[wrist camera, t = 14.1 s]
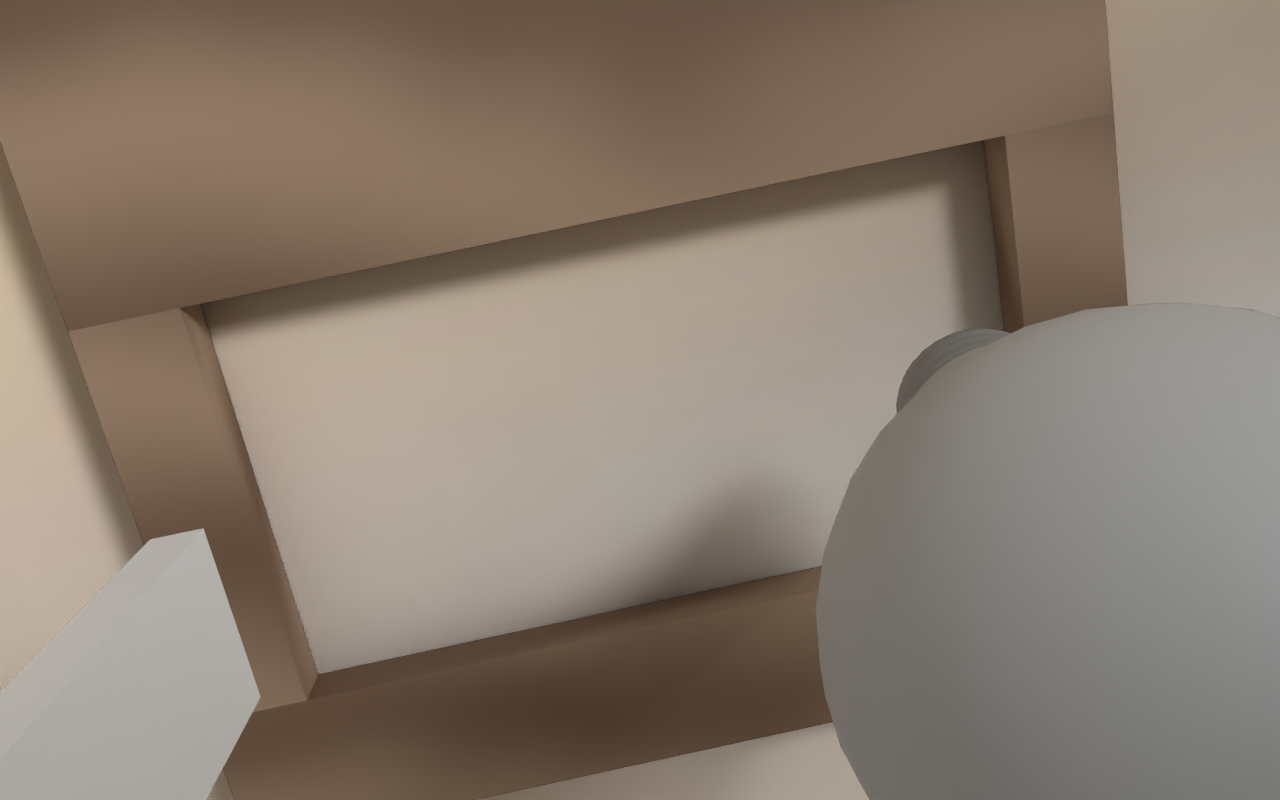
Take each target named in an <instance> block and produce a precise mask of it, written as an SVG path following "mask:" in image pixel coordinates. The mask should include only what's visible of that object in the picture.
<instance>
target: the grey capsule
mask: <svg viewBox="0 0 1280 800" xmlns="http://www.w3.org/2000/svg"><path fill="white" fill-rule="evenodd" d="M896 405H897V415H896V416H895V417H894V418H893V419H892V420H891V421H890V422H889V423H888V424H887V425H886V426H885V428H884V429H883V430H882V431H881V432H880V433H879V435H878V437H877V438H876V440H875V441H874V443H873V445H872V446H871V448H870V449H869V451H868V452H867V454H866V456H865V457H864V459H863V460H862V462H861V464H860V465H859V467H858V468H857V470H856V472H855V473H854V475H853V476H852V478H851V480H850V483H849V485H848V488H847V491H846V493H845V496H844V499H843V501H842V504H841V507H840V509H839V512H838V515H837V517H836V520H835V523H834V525H833V528H832V531H831V534H830V537H829V540H828V543H827V546H826V549H825V552H824V557H823V563H822V570H821V577H820V584H819V591H818V597H817V604H816V618H817V632H818V645H819V659H820V667H821V674H822V680H823V687H824V694H825V697H826V700H827V703H828V707H829V710H830V713H831V716H832V720H833V723H834V726H835V729H836V733H837V736H838V739H839V742H840V746H841V748H842V750H843V752H844V753H845V755H846V757H847V759H848V761H849V763H850V765H851V767H852V769H853V771H854V772H855V774H856V776H857V778H858V780H859V782H860V783H861V785H862V787H863V789H864V790H865V792H866V794H867V796H868V797H869V799H870V800H1280V318H1278V317H1275V316H1272V315H1268V314H1265V313H1262V312H1258V311H1255V310H1252V309H1242V308H1231V307H1221V306H1210V305H1200V304H1189V303H1156V304H1141V305H1130V306H1119V307H1108V308H1097V309H1087V310H1083V311H1079V312H1076V313H1072V314H1068V315H1065V316H1061V317H1058V318H1054V319H1050V320H1047V321H1043V322H1040V323H1036V324H1033V325H1029V326H1025V327H1023V328H1021V329H1019V330H1017V331H1015V332H1013V333H1008V332H1005V331H1001V330H997V329H986V328H979V329H968V330H963V331H960V332H956V333H953V334H950V335H948V336H946V337H944V338H942V339H940V340H938V341H936V342H934V343H933V344H932V345H930V346H929V347H928V348H926V349H925V350H924V351H923V352H922V353H921V354H920V355H919V356H918V357H917V358H916V359H915V360H914V361H913V362H912V364H911V366H910V367H909V369H908V370H907V372H906V374H905V375H904V377H903V380H902V383H901V385H900V388H899V392H898V398H897V404H896Z"/></svg>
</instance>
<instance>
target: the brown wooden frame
mask: <svg viewBox="0 0 1280 800" xmlns="http://www.w3.org/2000/svg"><path fill="white" fill-rule="evenodd" d="M981 140H984V145H985V155H986V164H987V173H988V183H989V192H990V201H991V211H992V220H993V229H994V239H995V248H996V258H997V267H998V276H999V286H1000V295H1001V304H1002V314H1003V323H1004V331H1005V332H1008V333H1013V332H1015V331H1017V330H1019V329H1021V328H1023V327H1025V326H1029V325H1033V324H1036V323H1040V322H1043V321H1047V320H1050V319H1054V318H1058V317H1061V316H1065V315H1068V314H1072V313H1076V312H1079V311H1083V310H1087V309H1097V308H1108V307H1119V306H1128V304H1127V291H1126V277H1125V263H1124V250H1123V236H1122V223H1121V209H1120V195H1119V182H1118V168H1117V155H1116V141H1115V127H1114V114H1113V100H1112V87H1111V73H1110V60H1109V46H1108V32H1107V19H1106V5H1105V0H0V142H1V145H2V148H3V151H4V153H5V156H6V159H7V162H8V165H9V167H10V170H11V173H12V176H13V179H14V181H15V184H16V187H17V190H18V193H19V196H20V198H21V201H22V204H23V207H24V210H25V212H26V215H27V218H28V221H29V224H30V226H31V229H32V232H33V235H34V238H35V241H36V243H37V246H38V249H39V252H40V255H41V257H42V260H43V263H44V266H45V269H46V271H47V274H48V277H49V280H50V283H51V286H52V288H53V291H54V294H55V297H56V300H57V302H58V305H59V308H60V311H61V314H62V316H63V319H64V322H65V325H66V328H67V331H68V333H69V336H70V339H71V342H72V345H73V347H74V350H75V353H76V356H77V359H78V361H79V364H80V367H81V370H82V373H83V376H84V378H85V381H86V384H87V387H88V390H89V392H90V395H91V398H92V401H93V404H94V407H95V409H96V412H97V415H98V418H99V421H100V423H101V426H102V429H103V432H104V435H105V437H106V440H107V443H108V446H109V449H110V452H111V454H112V457H113V460H114V463H115V466H116V468H117V471H118V474H119V477H120V480H121V482H122V485H123V488H124V491H125V494H126V497H127V499H128V502H129V505H130V508H131V511H132V513H133V516H134V519H135V522H136V525H137V527H138V530H139V533H140V536H141V539H142V542H143V544H144V545H145V544H146V543H147V542H148V541H149V540H150V539H155V538H159V537H164V536H169V535H174V534H178V533H183V532H188V531H193V530H197V529H202V528H204V531H205V534H206V537H207V540H208V543H209V546H210V549H211V552H212V555H213V558H214V561H215V564H216V567H217V570H218V573H219V576H220V579H221V582H222V584H223V587H224V590H225V593H226V596H227V599H228V602H229V605H230V608H231V611H232V614H233V617H234V620H235V623H236V626H237V629H238V632H239V635H240V638H241V640H242V643H243V646H244V649H245V652H246V655H247V658H248V661H249V664H250V667H251V670H252V673H253V676H254V679H255V682H256V685H257V688H258V691H259V694H260V699H259V701H258V703H257V705H256V707H255V709H254V710H253V712H252V714H251V716H250V718H249V720H248V722H247V724H246V726H245V727H244V729H243V731H242V733H241V735H240V737H239V739H238V741H237V743H236V745H235V746H234V748H233V750H232V752H231V754H230V756H229V758H228V760H227V762H226V763H225V765H224V767H223V769H224V772H225V775H226V778H227V781H228V783H229V786H230V789H231V792H232V795H233V798H234V800H477V799H481V798H486V797H491V796H495V795H500V794H504V793H509V792H513V791H518V790H523V789H527V788H532V787H536V786H541V785H546V784H550V783H555V782H559V781H564V780H569V779H573V778H578V777H582V776H587V775H591V774H596V773H601V772H605V771H610V770H614V769H619V768H624V767H628V766H633V765H637V764H642V763H647V762H651V761H656V760H660V759H665V758H669V757H674V756H679V755H683V754H688V753H692V752H697V751H702V750H706V749H711V748H715V747H720V746H725V745H729V744H734V743H738V742H743V741H747V740H752V739H757V738H761V737H766V736H770V735H775V734H780V733H784V732H789V731H793V730H798V729H802V728H807V727H812V726H816V725H821V724H825V723H830V722H833V720H832V716H831V713H830V710H829V707H828V703H827V700H826V697H825V694H824V687H823V680H822V674H821V667H820V659H819V645H818V632H817V618H816V604H817V597H818V591H819V584H820V577H821V570H822V566H820V567H816V568H811V569H806V570H802V571H797V572H792V573H788V574H783V575H779V576H774V577H769V578H765V579H760V580H755V581H751V582H746V583H741V584H737V585H732V586H727V587H723V588H718V589H714V590H709V591H704V592H700V593H695V594H690V595H686V596H681V597H676V598H672V599H667V600H662V601H658V602H653V603H649V604H644V605H639V606H635V607H630V608H625V609H621V610H616V611H611V612H607V613H602V614H597V615H593V616H588V617H584V618H579V619H574V620H570V621H565V622H560V623H556V624H551V625H546V626H542V627H537V628H532V629H528V630H523V631H519V632H514V633H509V634H505V635H500V636H495V637H491V638H486V639H481V640H477V641H472V642H468V643H463V644H458V645H454V646H449V647H444V648H440V649H435V650H430V651H426V652H421V653H416V654H412V655H407V656H403V657H398V658H393V659H389V660H384V661H379V662H375V663H370V664H365V665H361V666H356V667H351V668H347V669H342V670H338V671H333V672H328V673H324V674H319V675H318V673H317V670H316V667H315V663H314V660H313V657H312V654H311V651H310V648H309V645H308V641H307V638H306V635H305V632H304V629H303V626H302V623H301V619H300V616H299V613H298V610H297V607H296V604H295V601H294V597H293V594H292V591H291V588H290V585H289V582H288V578H287V575H286V572H285V569H284V566H283V563H282V560H281V556H280V553H279V550H278V547H277V544H276V541H275V538H274V534H273V531H272V528H271V525H270V522H269V519H268V516H267V512H266V509H265V506H264V503H263V500H262V497H261V494H260V490H259V487H258V484H257V481H256V478H255V475H254V472H253V468H252V465H251V462H250V459H249V456H248V453H247V450H246V446H245V443H244V440H243V437H242V434H241V431H240V428H239V424H238V421H237V418H236V415H235V412H234V409H233V406H232V402H231V399H230V396H229V393H228V390H227V387H226V384H225V380H224V377H223V374H222V371H221V368H220V365H219V362H218V358H217V355H216V352H215V349H214V346H213V343H212V340H211V336H210V333H209V330H208V327H207V324H206V321H205V318H204V314H203V311H202V308H201V305H200V304H202V303H206V302H211V301H216V300H221V299H225V298H230V297H235V296H240V295H245V294H249V293H254V292H259V291H264V290H269V289H273V288H278V287H283V286H288V285H292V284H297V283H302V282H307V281H312V280H316V279H321V278H326V277H331V276H335V275H340V274H345V273H350V272H355V271H359V270H364V269H369V268H374V267H379V266H383V265H388V264H393V263H398V262H402V261H407V260H412V259H417V258H422V257H426V256H431V255H436V254H441V253H446V252H450V251H455V250H460V249H465V248H469V247H474V246H479V245H484V244H489V243H493V242H498V241H503V240H508V239H512V238H517V237H522V236H527V235H532V234H536V233H541V232H546V231H551V230H556V229H560V228H565V227H570V226H575V225H579V224H584V223H589V222H594V221H599V220H603V219H608V218H613V217H618V216H622V215H627V214H632V213H637V212H642V211H646V210H651V209H656V208H661V207H666V206H670V205H675V204H680V203H685V202H689V201H694V200H699V199H704V198H709V197H713V196H718V195H723V194H728V193H732V192H737V191H742V190H747V189H752V188H756V187H761V186H766V185H771V184H776V183H780V182H785V181H790V180H795V179H799V178H804V177H809V176H814V175H819V174H823V173H828V172H833V171H838V170H842V169H847V168H852V167H857V166H862V165H866V164H871V163H876V162H881V161H886V160H890V159H895V158H900V157H905V156H909V155H914V154H919V153H924V152H929V151H933V150H938V149H943V148H948V147H952V146H957V145H962V144H967V143H972V142H976V141H981Z"/></svg>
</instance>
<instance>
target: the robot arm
mask: <svg viewBox="0 0 1280 800" xmlns="http://www.w3.org/2000/svg"><path fill="white" fill-rule="evenodd" d="M259 699H260V694H259V691H258V688H257V685H256V682H255V679H254V676H253V673H252V670H251V667H250V664H249V661H248V658H247V655H246V652H245V649H244V646H243V643H242V640H241V638H240V635H239V632H238V629H237V626H236V623H235V620H234V617H233V614H232V611H231V608H230V605H229V602H228V599H227V596H226V593H225V590H224V587H223V584H222V582H221V579H220V576H219V573H218V570H217V567H216V564H215V561H214V558H213V555H212V552H211V549H210V546H209V543H208V540H207V537H206V534H205V531H204V528H202V529H197V530H193V531H188V532H183V533H178V534H174V535H169V536H164V537H159V538H155V539H150V540H149V541H148V542H147V543H146V544H145V545H144V546H143V547H142V548H141V549H140V550H139V551H138V552H137V553H136V554H135V555H134V556H133V557H132V558H131V559H130V560H129V561H128V562H127V564H126V565H125V566H124V567H123V568H122V569H121V570H120V571H119V572H118V573H117V574H116V575H115V576H114V577H113V578H112V579H111V580H110V581H109V582H108V583H107V584H106V585H105V586H104V587H103V588H102V589H101V590H100V591H99V592H98V593H97V594H96V595H95V596H94V597H93V598H92V599H91V600H90V601H89V602H88V603H87V604H86V605H85V606H84V607H83V608H82V609H81V610H80V611H79V612H78V613H77V614H76V615H75V616H74V617H73V618H72V619H71V620H70V621H69V622H68V623H67V624H66V625H65V627H64V628H63V629H62V630H61V631H60V632H59V633H58V634H57V635H56V636H55V637H54V638H53V639H52V640H51V641H50V642H49V643H48V644H47V645H46V646H45V647H44V648H43V649H42V650H41V651H40V652H39V653H38V654H37V655H36V656H35V657H34V658H33V659H32V660H31V661H30V662H29V663H28V664H27V665H26V666H25V667H24V668H23V669H22V670H21V671H20V672H19V673H18V674H17V675H16V676H15V677H14V678H13V679H12V680H11V681H10V682H9V683H8V684H7V685H6V686H5V687H4V689H3V690H2V691H1V692H0V800H206V799H207V797H208V796H209V794H210V792H211V790H212V788H213V786H214V784H215V782H216V780H217V779H218V777H219V775H220V773H221V771H222V769H223V767H224V765H225V763H226V762H227V760H228V758H229V756H230V754H231V752H232V750H233V748H234V746H235V745H236V743H237V741H238V739H239V737H240V735H241V733H242V731H243V729H244V727H245V726H246V724H247V722H248V720H249V718H250V716H251V714H252V712H253V710H254V709H255V707H256V705H257V703H258V701H259Z"/></svg>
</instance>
